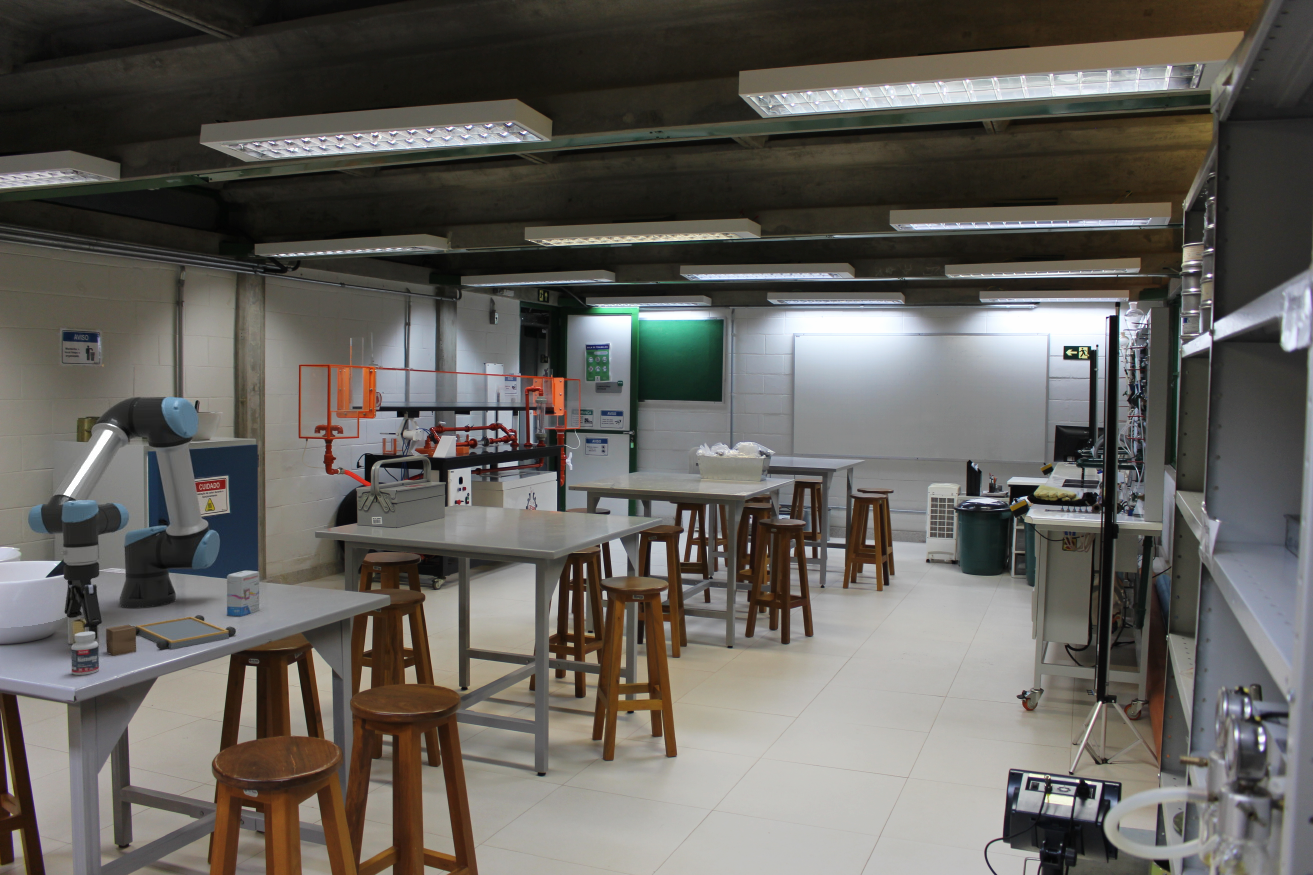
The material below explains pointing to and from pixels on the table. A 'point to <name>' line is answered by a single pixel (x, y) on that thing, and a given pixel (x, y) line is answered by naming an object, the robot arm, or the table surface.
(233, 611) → the ink box
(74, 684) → the table surface
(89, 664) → the pill bottle
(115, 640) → the walnut block
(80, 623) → the cylinder
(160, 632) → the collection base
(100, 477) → the robot arm
